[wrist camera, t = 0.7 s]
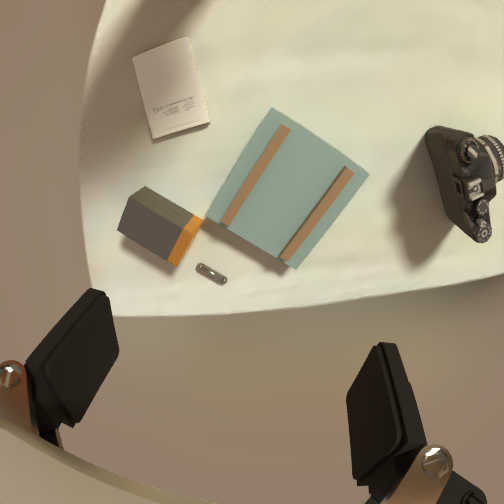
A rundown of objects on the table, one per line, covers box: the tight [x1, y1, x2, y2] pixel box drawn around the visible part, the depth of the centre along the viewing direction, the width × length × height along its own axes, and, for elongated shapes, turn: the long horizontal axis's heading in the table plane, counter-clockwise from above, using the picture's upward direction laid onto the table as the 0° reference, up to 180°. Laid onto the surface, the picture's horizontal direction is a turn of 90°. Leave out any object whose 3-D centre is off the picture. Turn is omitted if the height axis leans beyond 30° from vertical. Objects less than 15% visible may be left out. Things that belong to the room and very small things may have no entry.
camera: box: [425, 126, 504, 243], centre depth 29 cm, size 14×11×10 cm
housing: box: [117, 186, 204, 266], centre depth 40 cm, size 10×6×5 cm, turn 59°
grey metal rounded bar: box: [197, 263, 227, 284], centre depth 45 cm, size 5×1×1 cm, turn 59°
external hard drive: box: [132, 36, 211, 139], centre depth 33 cm, size 2×8×12 cm
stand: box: [206, 108, 370, 269], centre depth 37 cm, size 14×16×4 cm
